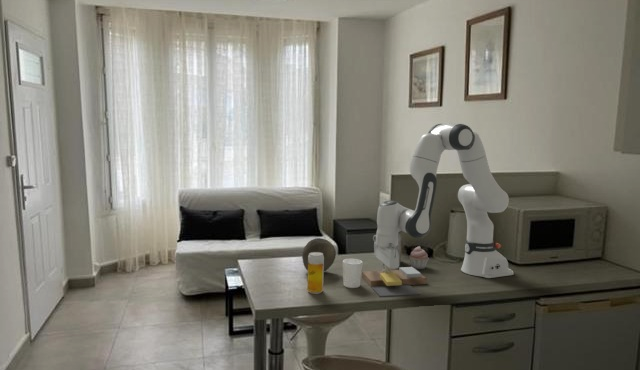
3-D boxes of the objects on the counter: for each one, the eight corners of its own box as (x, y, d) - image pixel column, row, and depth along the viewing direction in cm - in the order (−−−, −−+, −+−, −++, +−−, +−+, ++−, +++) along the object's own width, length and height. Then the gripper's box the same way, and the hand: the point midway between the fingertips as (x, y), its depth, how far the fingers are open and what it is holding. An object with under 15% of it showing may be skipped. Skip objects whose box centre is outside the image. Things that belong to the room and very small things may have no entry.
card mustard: (393, 276, 196) (393, 272, 195) (401, 285, 187) (401, 281, 187) (379, 276, 194) (379, 273, 194) (387, 285, 186) (387, 281, 186)
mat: (408, 285, 193) (408, 284, 193) (419, 294, 183) (419, 293, 183) (370, 287, 190) (370, 286, 190) (379, 296, 179) (380, 295, 179)
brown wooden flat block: (414, 274, 207) (415, 269, 207) (426, 283, 195) (426, 278, 195) (361, 277, 202) (362, 271, 202) (370, 286, 190) (370, 280, 190)
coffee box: (387, 260, 229) (388, 227, 227) (400, 261, 228) (402, 228, 226) (386, 265, 220) (387, 231, 218) (400, 266, 219) (401, 232, 217)
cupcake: (432, 269, 215) (433, 248, 214) (414, 271, 212) (415, 249, 211) (421, 263, 224) (422, 243, 223) (404, 265, 221) (405, 244, 219)
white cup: (355, 290, 186) (356, 265, 185) (338, 286, 191) (339, 261, 189) (364, 284, 193) (365, 260, 192) (347, 280, 197) (348, 257, 196)
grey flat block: (412, 270, 205) (412, 266, 205) (420, 277, 196) (420, 273, 196) (398, 271, 204) (399, 267, 203) (407, 277, 195) (407, 273, 195)
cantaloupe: (316, 280, 197) (317, 244, 195) (295, 271, 208) (296, 238, 206) (341, 273, 207) (342, 239, 205) (319, 265, 217) (320, 233, 215)
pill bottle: (307, 288, 186) (307, 251, 185) (322, 288, 187) (323, 251, 185) (307, 294, 180) (308, 256, 179) (323, 294, 181) (324, 255, 179)
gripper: (403, 246, 185) (402, 281, 187) (386, 234, 205) (384, 265, 207) (388, 247, 184) (386, 281, 186) (372, 235, 204) (370, 266, 206)
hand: (385, 273), depth 196 cm, fingers closed
